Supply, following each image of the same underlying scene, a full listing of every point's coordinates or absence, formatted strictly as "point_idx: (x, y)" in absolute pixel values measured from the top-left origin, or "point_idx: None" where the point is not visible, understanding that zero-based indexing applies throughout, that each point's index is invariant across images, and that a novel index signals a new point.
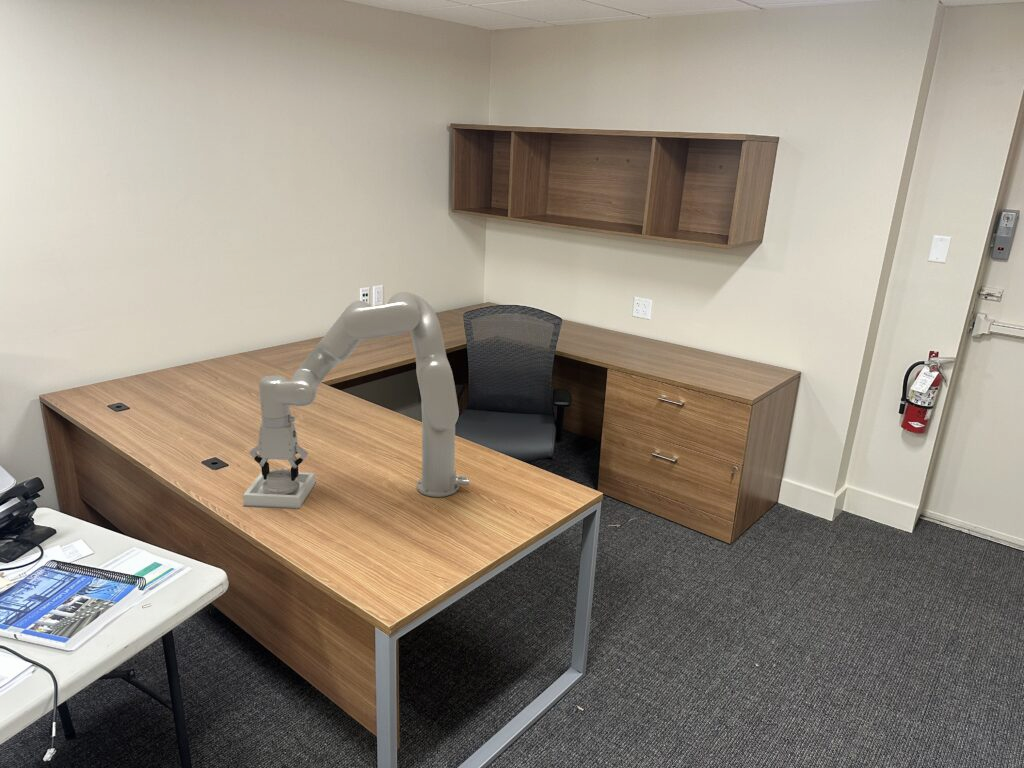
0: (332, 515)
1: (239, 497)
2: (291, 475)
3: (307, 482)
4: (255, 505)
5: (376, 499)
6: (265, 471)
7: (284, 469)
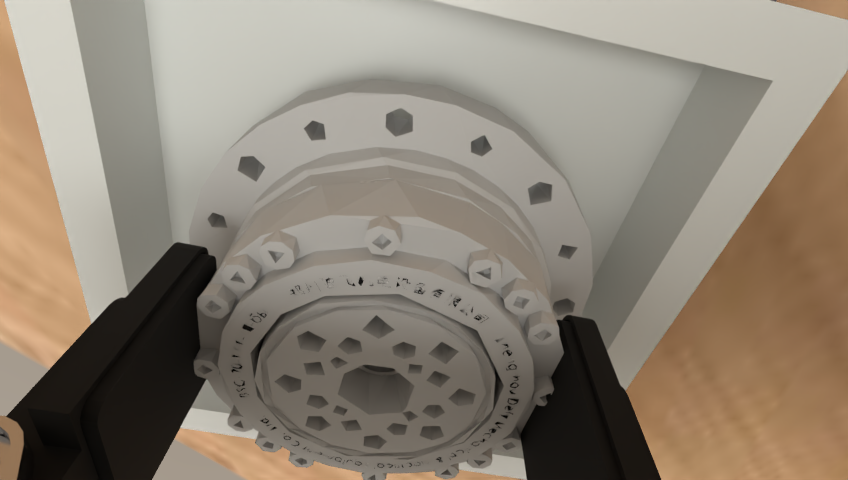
0: (719, 465)
1: (55, 212)
2: (530, 465)
3: (680, 291)
4: None
5: None
6: (162, 451)
7: (416, 278)
